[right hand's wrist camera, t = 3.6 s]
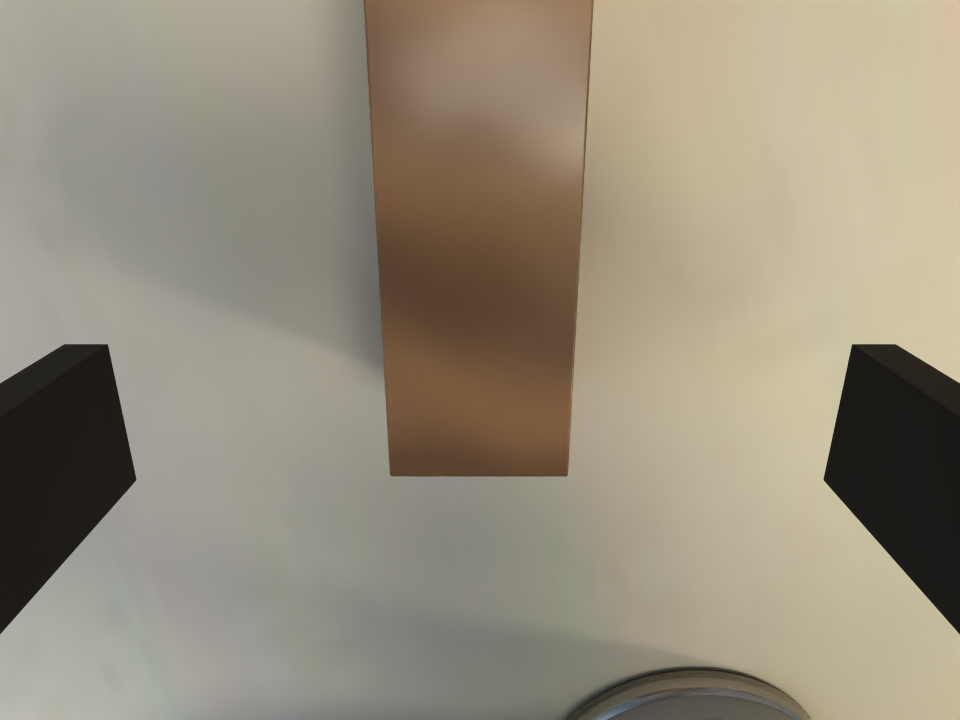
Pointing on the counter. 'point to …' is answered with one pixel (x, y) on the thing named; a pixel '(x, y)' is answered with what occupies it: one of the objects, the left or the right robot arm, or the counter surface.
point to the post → (478, 227)
